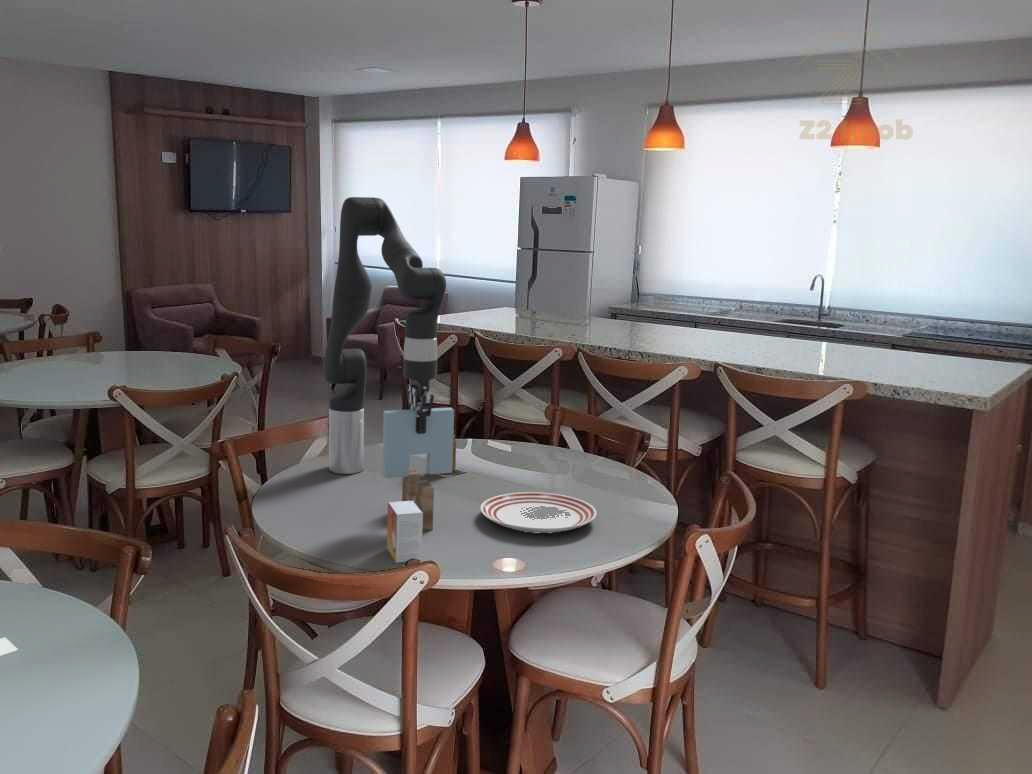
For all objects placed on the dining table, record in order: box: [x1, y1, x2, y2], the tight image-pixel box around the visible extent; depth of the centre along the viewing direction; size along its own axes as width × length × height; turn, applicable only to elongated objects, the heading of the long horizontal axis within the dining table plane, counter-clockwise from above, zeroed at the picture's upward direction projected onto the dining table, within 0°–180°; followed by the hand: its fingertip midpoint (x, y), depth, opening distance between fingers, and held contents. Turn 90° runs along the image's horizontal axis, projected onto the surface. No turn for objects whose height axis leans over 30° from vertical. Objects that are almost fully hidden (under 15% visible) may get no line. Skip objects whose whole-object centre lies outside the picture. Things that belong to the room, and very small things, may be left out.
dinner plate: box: [479, 491, 597, 534], centre depth 208 cm, size 28×27×3 cm
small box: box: [386, 500, 423, 564], centre depth 183 cm, size 8×6×10 cm
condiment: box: [435, 430, 468, 478], centre depth 241 cm, size 7×8×12 cm
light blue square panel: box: [382, 407, 455, 479], centre depth 201 cm, size 2×16×15 cm, turn 114°
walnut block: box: [401, 466, 435, 532], centre depth 204 cm, size 16×2×10 cm, turn 24°
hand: (418, 431), depth 201 cm, fingers closed on light blue square panel, 2 cm apart
